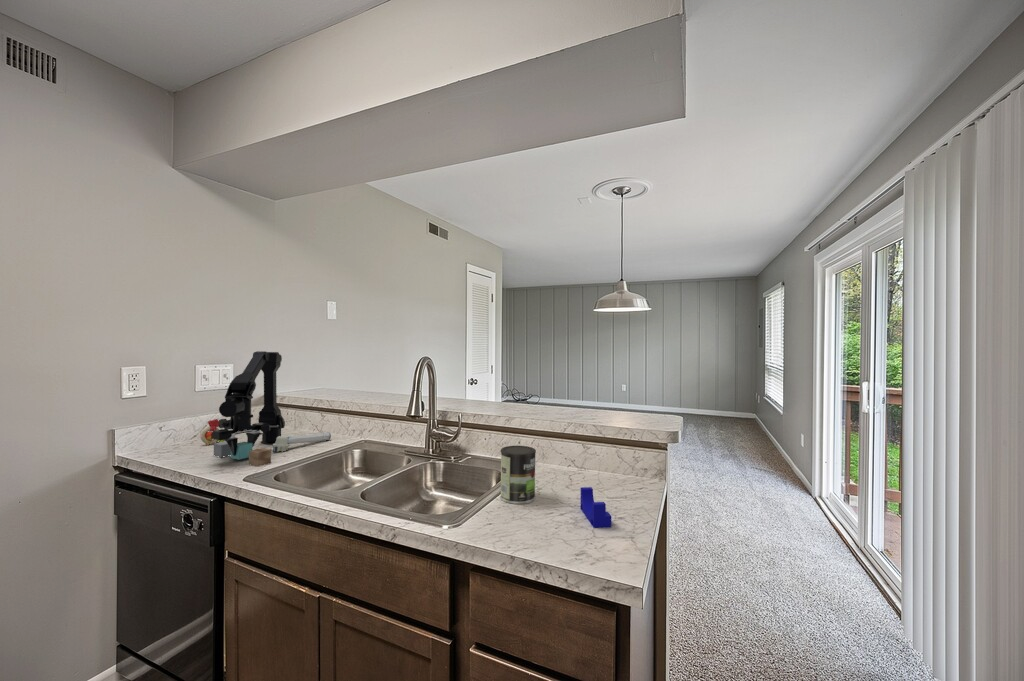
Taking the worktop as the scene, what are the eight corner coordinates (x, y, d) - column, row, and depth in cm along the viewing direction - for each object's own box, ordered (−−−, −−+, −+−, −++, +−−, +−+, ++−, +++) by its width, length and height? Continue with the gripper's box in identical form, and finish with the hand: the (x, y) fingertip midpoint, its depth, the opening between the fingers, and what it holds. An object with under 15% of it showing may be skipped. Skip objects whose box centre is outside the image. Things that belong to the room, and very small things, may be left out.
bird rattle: (211, 451, 175) (233, 438, 183) (200, 429, 171) (222, 417, 179) (204, 449, 178) (225, 437, 186) (192, 427, 174) (214, 415, 182)
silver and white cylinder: (332, 432, 188) (279, 435, 166) (330, 447, 187) (276, 452, 165) (324, 431, 190) (271, 433, 169) (322, 445, 190) (268, 450, 168)
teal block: (244, 454, 160) (244, 441, 160) (252, 456, 158) (252, 443, 158) (230, 457, 156) (230, 444, 156) (238, 459, 154) (238, 446, 154)
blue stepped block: (611, 528, 104) (611, 504, 104) (593, 528, 103) (593, 504, 103) (596, 508, 116) (596, 487, 116) (580, 509, 115) (580, 487, 115)
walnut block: (262, 461, 156) (262, 447, 156) (270, 463, 153) (271, 449, 153) (248, 464, 151) (248, 451, 151) (257, 466, 149) (257, 452, 149)
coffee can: (541, 495, 124) (542, 448, 124) (523, 507, 115) (524, 456, 115) (512, 488, 130) (512, 443, 130) (493, 499, 121) (493, 450, 121)
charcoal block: (227, 453, 165) (227, 440, 165) (234, 455, 163) (235, 442, 163) (213, 456, 161) (213, 443, 161) (221, 458, 159) (221, 445, 159)
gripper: (253, 407, 169) (253, 445, 169) (202, 414, 152) (202, 456, 152) (271, 409, 164) (270, 449, 164) (220, 417, 147) (219, 461, 147)
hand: (241, 453), depth 157 cm, fingers closed on teal block, 5 cm apart
